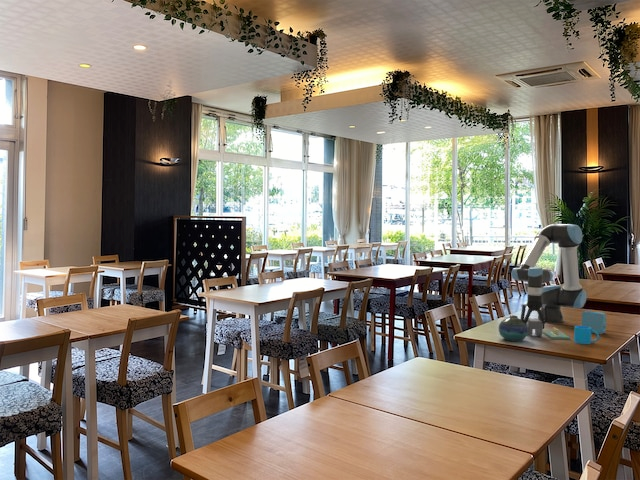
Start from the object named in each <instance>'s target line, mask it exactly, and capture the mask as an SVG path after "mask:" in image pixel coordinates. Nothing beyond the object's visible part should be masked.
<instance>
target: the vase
mask: <svg viewBox="0 0 640 480" xmlns="http://www.w3.org/2000/svg"><path fill="white" fill-rule="evenodd" d="M520 319H521V318H519V317H518V315H513V314H512V315H509V317H507V318H505V319H502V320H501V321H500V323H499V324H498V327H497V329H498V332H499V335H500V336H501V337H502V338H503V339H504V340H506V341H510V342H520V341H523V340H525V339H526V338H527V336H529V335H528V326H527V324H526V323H525V322H523V321H522V320H520Z"/></svg>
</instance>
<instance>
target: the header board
mask: <svg viewBox="0 0 640 480" xmlns="http://www.w3.org/2000/svg"><path fill="white" fill-rule="evenodd" d="M542 335H545V336H546V337H548V338H549V339H550V340H571V337H570V336H568V335H567V334H565V333H563V332H562V331H561V330H560V329H558V328H557V327H552V330H543V331H542Z"/></svg>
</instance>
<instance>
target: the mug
mask: <svg viewBox="0 0 640 480" xmlns="http://www.w3.org/2000/svg"><path fill="white" fill-rule="evenodd" d="M591 331H593V332H595V333H594V334H595V335H596V339H594V340H592V333H591ZM573 334H574V335H573V342H575V343H577V344H582V345H590V344H592V343H596V342H598V341H599V339H600V334H598V333H597V332H596V331H594V330H592V329H591V327H588V326H581V325H574V333H573Z"/></svg>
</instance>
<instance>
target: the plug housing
mask: <svg viewBox="0 0 640 480" xmlns="http://www.w3.org/2000/svg"><path fill="white" fill-rule="evenodd" d="M527 323H528V335H527V336H529V337H530V338H533V334H535V335H536V336H537V337H539V338H543V333H542V321H540V320H539V319H538V317H537V318H536V317H535V318H533V317H529V319H528V321H527ZM533 330H534V333H533Z"/></svg>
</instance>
